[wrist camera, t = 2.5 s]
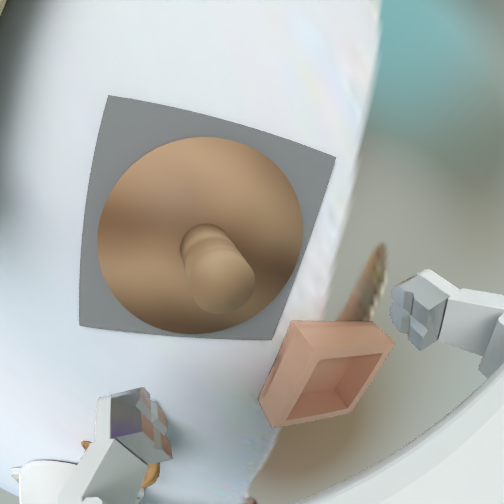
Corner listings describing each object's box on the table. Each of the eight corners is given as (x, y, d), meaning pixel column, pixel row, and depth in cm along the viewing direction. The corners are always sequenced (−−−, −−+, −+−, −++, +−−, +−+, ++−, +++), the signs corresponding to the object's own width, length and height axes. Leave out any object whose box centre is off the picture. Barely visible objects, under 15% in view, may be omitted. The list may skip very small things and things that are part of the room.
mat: (269, 336, 23) (271, 339, 23) (80, 322, 17) (79, 325, 17) (332, 156, 19) (336, 157, 18) (109, 96, 13) (108, 95, 13)
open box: (333, 390, 29) (350, 412, 26) (257, 399, 26) (271, 428, 23) (372, 321, 27) (395, 342, 24) (291, 320, 23) (313, 349, 20)
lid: (264, 328, 22) (295, 379, 17) (94, 315, 17) (85, 376, 12) (319, 166, 18) (375, 185, 13) (120, 117, 13) (105, 112, 9)
